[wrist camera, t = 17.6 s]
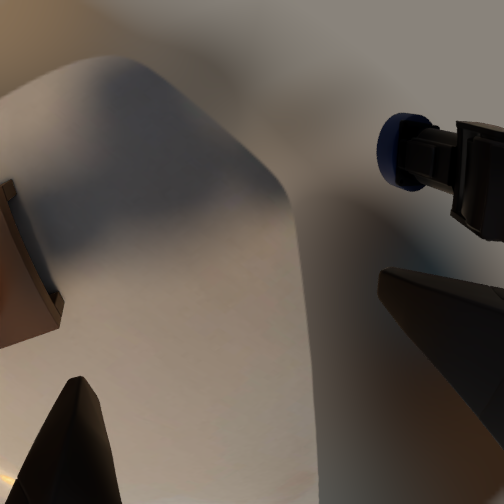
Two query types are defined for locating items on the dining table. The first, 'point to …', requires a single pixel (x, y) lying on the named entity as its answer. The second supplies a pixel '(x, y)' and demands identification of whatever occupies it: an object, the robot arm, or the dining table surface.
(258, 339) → the dining table surface
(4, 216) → the shelf
